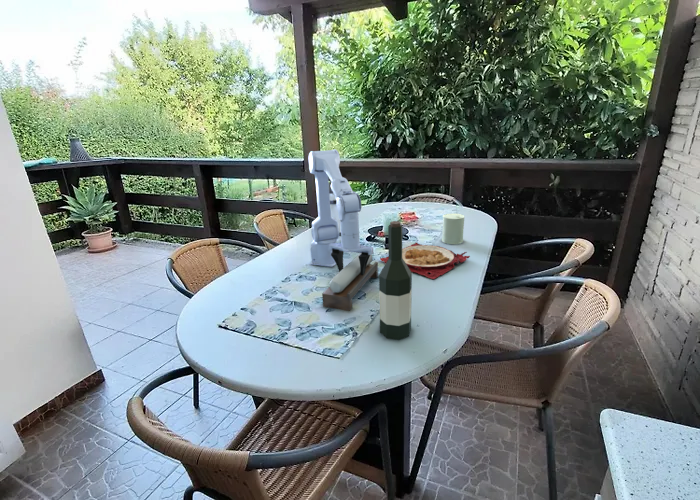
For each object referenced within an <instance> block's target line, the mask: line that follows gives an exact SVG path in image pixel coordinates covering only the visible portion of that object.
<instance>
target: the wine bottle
mask: <svg viewBox="0 0 700 500" xmlns="http://www.w3.org/2000/svg"><path fill="white" fill-rule="evenodd" d="M401 223H402V222H401V221H399V220H393V221H392V220H391V221H390V223H389V225H388V227H387V229H388V231H387V235H388V236H387V237H388V247H387V248H388V256H389V259H388V261H387V262H386V263H384V265H383V267H382V269H381V270H380V273H378V290H379V291H378V294H379V295H378V296H379V298H378V301H379V302H378V303H379V304H378V305H379V333H380V334H381V335H382V336H383V337H384V338H386V340H387V339H389V340H395V341H400V340H403V339H406V338H409V337H410V334H411V331H412V294H413V293H412V290H413V289H412V286H413V285H412V284H413V283H412V282H413V272H411V271H410V269H409V267H408V266H407V264H406V263H405V261H404V260H403V258H402V249H403V224H401Z"/></svg>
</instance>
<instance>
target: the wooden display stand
mask: <svg viewBox="0 0 700 500" xmlns="http://www.w3.org/2000/svg"><path fill="white" fill-rule="evenodd" d="M378 263H379V262H378V261H374V263H373V264H371V263H370V264H369V265H367V266H366V269H365V274H364V275H361V273H360V274H359V275H358V276H357V277H356V278H355V279H354V280H353V281H352V282H351V283H350V284H349V285H348V286H347V287H346V288H345V289H344V290H343V291H342V292H341V293H338V292H333V291H332V290H331V289H330V286H328V287H327V288H326V289H325V290H324V291H323V292H322V293H321V294H322V295H321V296H322V307H323V308H329V309H335V310H340V311H346V312H351V311H352V310H353V298H354V297H355V296H356V295H357V294H358V293H359V291H360V290H361V289H362V288H363V286H365V284H366V283H367V282H368V280H369V279H370V278H371V279H378V278H379V264H378Z"/></svg>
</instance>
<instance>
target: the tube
mask: <svg viewBox="0 0 700 500" xmlns="http://www.w3.org/2000/svg"><path fill="white" fill-rule="evenodd" d="M360 255H361V253H358V254H357V256H356V257H354V258H353V259H352V260H350V262H349V263H347V264H346V266H345V265H344V266H343V269H342V270H341V271H340V272H339V271H338V273H337V274H335V275H334V276H333V277H332V278H331V280H330V281H329V285H328V286H329V287H330V289H331V290H332V291H333V292H338V293H341V292H342V291H343V290H344V289H345V288H346V287H347V286H348V285H349V284H350V283H351V282H352V281H353V280H354V279H355V278H356V277H357V276H358V275H359V274H360V261H359V256H360ZM372 262H373V254H372V255H370V257H369V259H368V262H367V265H369V264H371V263H372ZM367 265H366V266H367Z"/></svg>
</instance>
